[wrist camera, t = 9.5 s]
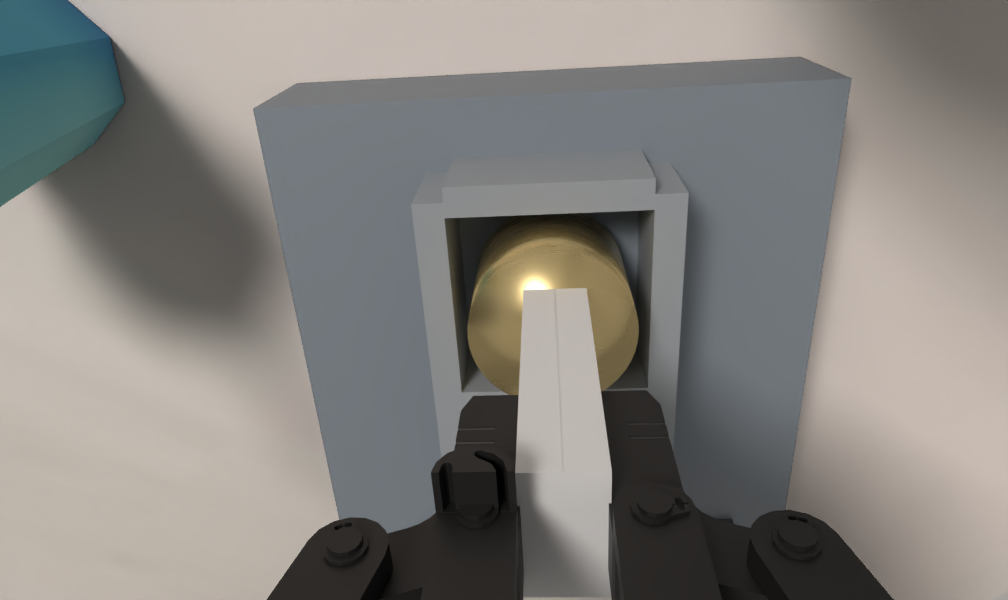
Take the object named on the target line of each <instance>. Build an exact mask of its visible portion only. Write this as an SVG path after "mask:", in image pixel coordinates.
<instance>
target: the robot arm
mask: <svg viewBox="0 0 1008 600" xmlns="http://www.w3.org/2000/svg"><path fill="white" fill-rule="evenodd" d="M431 479H432V487H433V494H434V502H435V510H436V513H435V514H434V515H432V516H431V517H430V518H429V519H427V520H425V521H423V522H422V523H420V524H417V525H415V526H412V527H409V528H406V529H402V530H398V531H395V532H391V533H387V532H386V530H385V529H384V528H383V527H382V526H381V525H380V524H379V523H378V522H375V521H373V520H370V519H367V518H352V517H349V518H345V519H342V520H338V521H334V522H332V523H330V524H328V525H326V526H325V527H323V528H321V529H319V530H318V531H317V532H316V533H315V534H314V535H313V536H312V537H311V538H310V539H309V540H308V542H307V543H306V544H305V546H304V547H303V549H302V550H301V552H300V553H299V554H298V556H297V557H296V559H295V560H294V562H293V563H292V564H291V566H290V567H289V569H288V570H287V572H286V573H285V574H284V576H283V577H282V579H281V580H280V581H279V583H278V584H277V586H276V587H275V589H274V590H273V591H272V593H271V594H270V596H269V597H268V599H267V600H523V598H535V597H610V590H611V599H612V600H893V599H892V597H891V596H890V595H889V594H888V593H887V591H886V590H885V589H884V588H883V587H882V586H881V584H880V583H879V582H878V581H877V580H876V578H875V577H874V576H873V575H872V574H871V573H870V571H869V570H868V569H867V568H866V567H865V565H864V564H863V563H862V562H861V561H860V560H859V558H858V557H857V556H856V555H855V554H854V552H853V551H852V550H851V549H850V548H849V547H848V545H847V544H846V543H845V542H844V541H843V539H842V538H841V537H840V536H839V535H838V534H837V533H836V532H835V531H834V530H833V529H832V528H831V527H829V526H828V525H827V524H826V523H825V522H823V521H821V520H819V519H817V518H815V517H813V516H811V515H809V514H806V513H801V512H796V511H792V510H779V511H771V512H769V513H766V514H763V515H761V516H759V517H758V518H757V519H756V521H755V522H754V523H753V524H752V525H751V528H749V527H745V526H740V525H736V524H732V523H727V522H724V521H721V520H718V519H715V518H713V517H711V516H709V515H707V514H705V513H703V512H702V511H700V510H699V509H698V508H696V506H695V505H694V503H693V501H692V499H691V498H690V497H689V496H688V495H686V494H685V492H684V490H683V487H682V483H681V479H680V476H679V472H678V468H677V464H676V461H675V457H674V453H673V449H672V445H671V442H670V439H669V434H668V430H667V427H666V425H665V419H664V415H663V411H662V408H661V404H660V403H659V402H658V401H657V400H656V399H655V398H654V397H653V396H652V395H651V394H650V393H649V392H648V391H647V390H629V391H601V389H600V382H599V374H598V367H597V360H596V353H595V346H594V338H593V331H592V324H591V317H590V309H589V302H588V295H587V288H568V289H538V290H523V309H522V332H521V354H520V376H519V395H486V396H473V397H472V398H471V399H470V400H469V402H468V403H467V404H466V405H465V406H464V408H463V409H462V410H461V412H460V418H459V424H458V431H457V436H456V445H455V448H454V451H451V452H449V453H447V454H445V455H444V456H443V457H442V458H440V459H439V460H438V461H437V462H436V463H435V465H434V467H433V469H432V471H431Z"/></svg>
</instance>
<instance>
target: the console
mask: <svg viewBox="0 0 1008 600" xmlns="http://www.w3.org/2000/svg"><path fill="white" fill-rule="evenodd" d="M851 79H852V78H849V77H847V76H845V75H842V74H840V73H838V72H835V71H833V70H831V69H828V68H826V67H823V66H821V65H819V64H816V63H814V62H812V61H809V60H807V59H805V58H802V57H788V58H769V59H750V60H731V61H712V62H693V63H674V64H655V65H636V66H617V67H598V68H579V69H560V70H541V71H522V72H503V73H484V74H465V75H446V76H427V77H408V78H389V79H370V80H351V81H332V82H313V83H297V84H295V85H293V86H291V87H290V88H288V89H286V90H285V91H283V92H281V93H279V94H278V95H276V96H274V97H272V98H271V99H269V100H267V101H265V102H264V103H262V104H260V105H259V106H257V107H255V108H253V111H254V116H255V120H256V125H257V130H258V135H259V139H260V144H261V149H262V154H263V158H264V163H265V168H266V173H267V177H268V182H269V187H270V192H271V196H272V201H273V206H274V211H275V215H276V220H277V225H278V230H279V234H280V239H281V244H282V249H283V254H284V258H285V263H286V268H287V273H288V277H289V282H290V287H291V292H292V296H293V301H294V306H295V311H296V315H297V320H298V325H299V330H300V334H301V339H302V344H303V349H304V353H305V358H306V363H307V368H308V372H309V377H310V382H311V387H312V391H313V396H314V401H315V406H316V411H317V415H318V420H319V425H320V430H321V434H322V439H323V444H324V449H325V453H326V458H327V463H328V468H329V472H330V477H331V482H332V487H333V491H334V496H335V501H336V506H337V510H338V515H339V520H342V519H345V518H349V517H352V518H367V519H370V520H373V521H375V522H378V523H379V524H380V525H381V526H382V527H383V528H384V529H385V530H386V532H387V533H391V532H395V531H398V530H402V529H406V528H409V527H412V526H415V525H417V524H420V523H422V522H423V521H425V520H427V519H429V518H430V517H431V516H432V515H434V514H435V513H436V510H435V502H434V494H433V487H432V479H431V471H432V469H433V467H434V465H435V463H436V462H437V461H438V460H439V459H440V458H442V457H443V456H444V455H445V454H447V453H449V452H451V451H454V448H455V445H456V436H457V431H458V424H459V418H460V412H461V410H462V409H463V408H464V406H465V405H466V404H467V403H468V402H469V400H470V399H471V398H472V397H473V396H486V395H508V394H506V393H504V392H503V391H501V390H500V389H499V388H497V387H496V386H495V385H493V384H492V383H491V382H490V381H489V380H488V379H487V378H486V377H485V376H484V375H483V373H482V372H481V371H480V369H479V368H478V366H477V365H476V363H475V361H474V359H473V357H472V354H471V351H470V348H469V343H468V332H467V327H468V319H469V313H470V308H471V302H472V297H473V291H474V286H475V280H476V275H477V270H478V264H479V259H480V256H481V252H482V250H483V248H484V246H485V244H486V242H487V240H488V239H489V237H490V236H491V235H492V233H493V232H494V231H495V230H496V229H497V228H498V227H499V226H500V225H501V224H502V223H503V222H505V221H506V220H508V219H509V218H511V217H512V216H518V215H543V214H568V213H584V214H586V215H588V216H590V217H592V218H593V219H595V220H596V221H597V222H599V223H600V224H601V225H602V226H603V227H604V228H605V229H606V230H607V231H608V232H609V233H610V235H611V236H612V237H613V239H614V240H615V242H616V244H617V246H618V248H619V251H620V254H621V257H622V261H623V264H624V268H625V272H626V275H627V279H628V283H629V287H630V290H631V294H632V298H633V301H634V305H635V309H636V312H637V317H638V324H639V335H638V343H637V347H636V351H635V353H634V356H633V358H632V360H631V362H630V364H629V365H628V367H627V369H626V370H625V371H624V373H623V374H622V375H621V376H620V377H619V378H618V379H617V380H616V381H615V382H614V383H613V384H612V385H611V386H609V387H608V388H607V389H605V390H604V391H629V390H647V391H648V392H649V393H650V394H651V395H652V396H653V397H654V398H655V399H656V400H657V401H658V402H659V403H660V404H661V408H662V411H663V415H664V419H665V425H666V427H667V430H668V434H669V439H670V442H671V445H672V449H673V453H674V457H675V461H676V464H677V468H678V472H679V476H680V479H681V483H682V487H683V490H684V492H685V494H686V495H688V496H689V497H690V498H691V499H692V501H693V503H694V505H695V506H696V508H698V509H699V510H700V511H702V512H703V513H705V514H707V515H709V516H711V517H713V518H715V519H718V520H721V521H724V522H727V523H732V524H736V525H740V526H745V527H749V528H751V525H752V524H753V523H754V522H755V521H756V519H757V518H758V517H759V516H761V515H763V514H766V513H769V512H771V511H779V510H785V506H786V500H787V494H788V487H789V481H790V474H791V468H792V461H793V455H794V448H795V442H796V435H797V429H798V422H799V416H800V409H801V403H802V396H803V390H804V383H805V377H806V370H807V364H808V357H809V351H810V344H811V338H812V331H813V325H814V318H815V312H816V306H817V299H818V293H819V286H820V280H821V273H822V267H823V260H824V254H825V247H826V241H827V234H828V228H829V221H830V215H831V208H832V202H833V195H834V189H835V182H836V176H837V169H838V163H839V156H840V150H841V143H842V137H843V130H844V124H845V118H846V111H847V105H848V98H849V92H850V85H851Z"/></svg>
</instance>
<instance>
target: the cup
mask: <svg viewBox="0 0 1008 600" xmlns="http://www.w3.org/2000/svg"><path fill="white" fill-rule="evenodd" d="M124 103H125V100H124V96H123V91H122V87H121V83H120V78H119V74H118V70H117V66H116V61H115V57H114V53H113V48H112V44H111V40H110V37H109V36H108V35H107V34H106V33H105V32H103V31H102V30H101V29H100V28H99V27H98V26H97V25H95V24H94V23H93V22H92V21H91V20H90V19H88V18H87V17H86V16H85V15H84V14H83V13H82V12H80V11H79V10H78V9H77V8H76V7H75V6H74V5H72V4H71V3H70V2H69V1H68V0H0V206H2V205H3V204H5V203H6V202H8V201H9V200H11V199H12V198H14V197H15V196H17V195H18V194H20V193H21V192H23V191H24V190H26V189H28V188H29V187H31V186H32V185H34V184H35V183H37V182H38V181H40V180H41V179H43V178H44V177H46V176H47V175H49V174H50V173H52V172H53V171H55V170H56V169H58V168H59V167H61V166H62V165H64V164H65V163H67V162H68V161H70V160H71V159H73V158H74V157H76V156H77V155H79V154H80V153H82V152H83V151H85V150H86V149H88V148H89V147H91V146H92V145H94V144H95V142H96V141H97V140H98V138H99V137H100V135H101V134H102V133H103V131H104V130H105V129H106V127H107V126H108V125H109V123H110V122H111V120H112V119H113V118H114V116H115V115H116V114H117V112H118V111H119V110H120V108H121V107H122V105H123V104H124Z"/></svg>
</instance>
